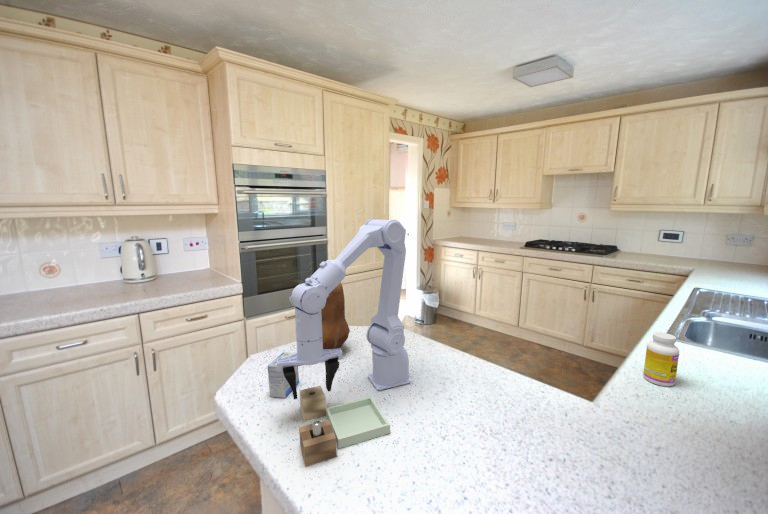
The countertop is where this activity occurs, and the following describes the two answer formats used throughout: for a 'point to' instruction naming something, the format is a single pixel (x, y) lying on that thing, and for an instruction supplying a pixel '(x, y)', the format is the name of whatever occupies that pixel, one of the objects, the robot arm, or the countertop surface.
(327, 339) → the butternut squash
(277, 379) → the medicine box
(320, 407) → the block
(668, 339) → the supplement bottle
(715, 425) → the countertop surface
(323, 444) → the slotted wooden block
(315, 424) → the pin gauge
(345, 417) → the tray
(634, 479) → the countertop surface
